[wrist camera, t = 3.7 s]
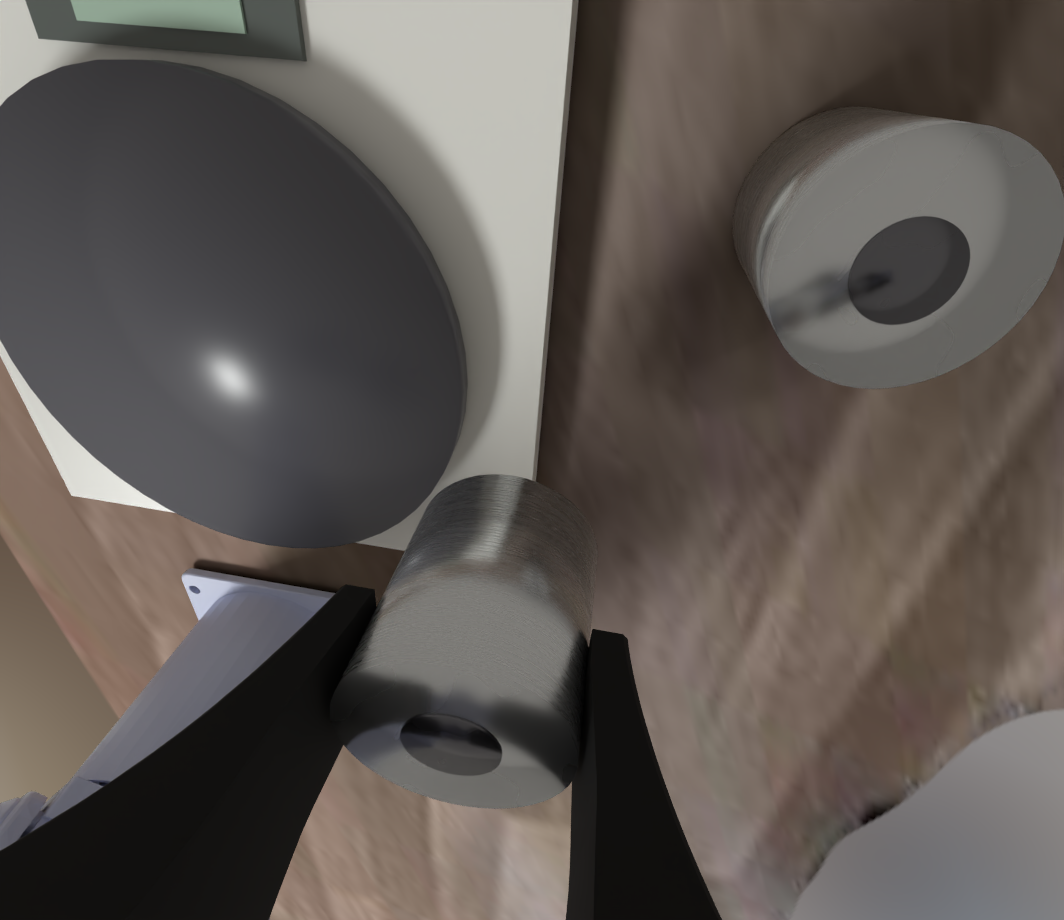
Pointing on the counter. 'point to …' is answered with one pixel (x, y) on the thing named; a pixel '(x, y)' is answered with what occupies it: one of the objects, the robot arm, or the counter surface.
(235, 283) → the scale pan
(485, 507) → the cylinder
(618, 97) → the counter surface
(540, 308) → the scale base
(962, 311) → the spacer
